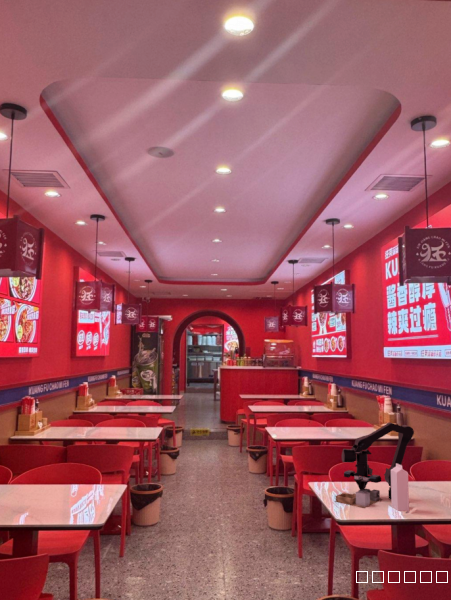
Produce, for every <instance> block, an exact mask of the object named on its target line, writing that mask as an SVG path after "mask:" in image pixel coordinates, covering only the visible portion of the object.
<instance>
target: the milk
mask: <svg viewBox="0 0 451 600" xmlns="http://www.w3.org/2000/svg"><path fill="white" fill-rule="evenodd" d="M409 493H410V491H409V472H408V471H407V470H405V469H403V465H402V464H401V465H399V464H397V463H396V467H394V468H393V469H391V499H390V500H391V501H390V502H391V508H392V509H394V510H395V511H397V512H402V511H403V512H404V514H409V513H410V494H409Z"/></svg>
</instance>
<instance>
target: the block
mask: <svg viewBox="0 0 451 600" xmlns="http://www.w3.org/2000/svg"><path fill="white" fill-rule="evenodd" d="M355 494H356V505H359V506H363V507H366V508H368V507H370V506H371V505H370V492H367V491H366V490H360V489H359V490H358V491H355ZM369 505H370V506H369ZM367 506H368V507H367Z"/></svg>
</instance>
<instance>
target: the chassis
mask: <svg viewBox="0 0 451 600" xmlns="http://www.w3.org/2000/svg"><path fill="white" fill-rule="evenodd" d="M380 496H381V495H380V490H379V489H372V490H371V491H370V505H369V506H367V507H363V506H359V505H356V493H347V492H342V493H339V494H337V495H335V501H334V503H338V504H343V505H347V506H353V507H356V508H361V509H366V508H368V507H370V506H372V505H374V504H377V503H378V502H381V501H382V500H384V499H382V498H380Z"/></svg>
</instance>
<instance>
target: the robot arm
mask: <svg viewBox="0 0 451 600" xmlns="http://www.w3.org/2000/svg"><path fill="white" fill-rule="evenodd" d="M392 432H395V433H398V434H397V436H398V441H397V445H396V448H395V452H394V455H393V459H392V463H391V465H390V467H389V468H388V467H385V468H386V469H385V472H384V474H383V476H384V480H385V482H386V483H387V484H388V487H389V489H388V491H387V492H388V500H391V469H393V468H394V467H396V463H397V464H399V465H402V464H403V460H404V456H405V453H406V450H407V446H408V445H409V443H410V441H411V440H412V438H413V437H414V434H415V430H414V429H413V427H411V426H409V425H408V424H407V425H406V424H402V425H399V424H395V423H393V422H387V423H386V424H384V425H382V426H381V427H379V428H378V429H376V430H375V431H372V432H371V433H369V434H367V435H362V436H359V437H357V438H356V439H355V441H354V444H353V445H352V447H351V448H343V449H342V452H341V461H342V463H355V462H356V463H355V467H356V471H354V470H352V469H351V470H350V469H348V470H345V471H344V472H343V477H344V478H348V479H349V478H350V477H353V478H354V479H353V481H355V483H356V484H357V487H358V488H359V490H365V489H367V485H368V483H369V482H370V483H377V484H378V483H381V482H382V476H381V475H378V474H373V468H372V467H371V468H370V465H369V464H368V463H369V462H368V455H372V452H370V450H369V448H370V447H371V446H372V445H373V444H374V443H375V441H377V440H379V439H381V438H382V437H384V436H386V435H388V434H390V433H392Z"/></svg>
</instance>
